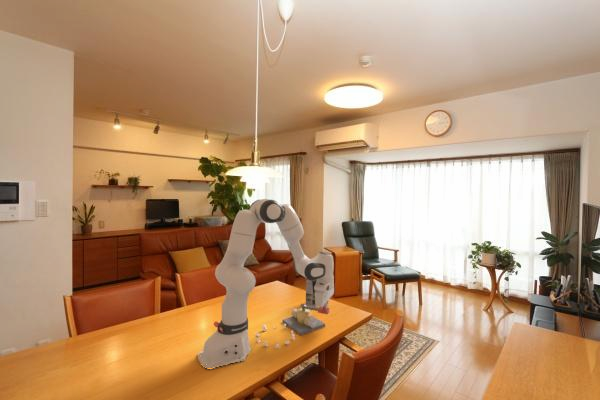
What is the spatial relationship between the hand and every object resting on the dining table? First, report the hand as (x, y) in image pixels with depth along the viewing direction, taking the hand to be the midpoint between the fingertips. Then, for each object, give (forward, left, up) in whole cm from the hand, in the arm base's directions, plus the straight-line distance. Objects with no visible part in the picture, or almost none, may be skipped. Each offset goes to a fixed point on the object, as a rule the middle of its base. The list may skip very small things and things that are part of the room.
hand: (325, 308), depth 145 cm
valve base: (-8, +9, -10) cm, 15 cm away
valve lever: (-5, +3, -1) cm, 6 cm away
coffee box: (+14, +27, -10) cm, 32 cm away
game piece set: (-27, +6, -10) cm, 30 cm away
